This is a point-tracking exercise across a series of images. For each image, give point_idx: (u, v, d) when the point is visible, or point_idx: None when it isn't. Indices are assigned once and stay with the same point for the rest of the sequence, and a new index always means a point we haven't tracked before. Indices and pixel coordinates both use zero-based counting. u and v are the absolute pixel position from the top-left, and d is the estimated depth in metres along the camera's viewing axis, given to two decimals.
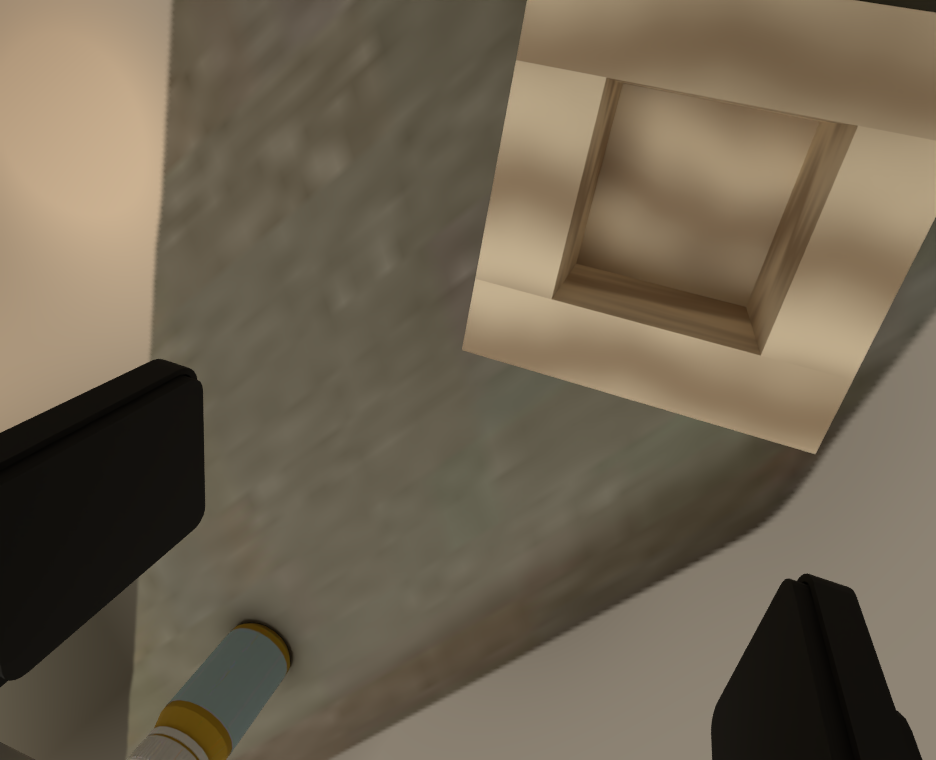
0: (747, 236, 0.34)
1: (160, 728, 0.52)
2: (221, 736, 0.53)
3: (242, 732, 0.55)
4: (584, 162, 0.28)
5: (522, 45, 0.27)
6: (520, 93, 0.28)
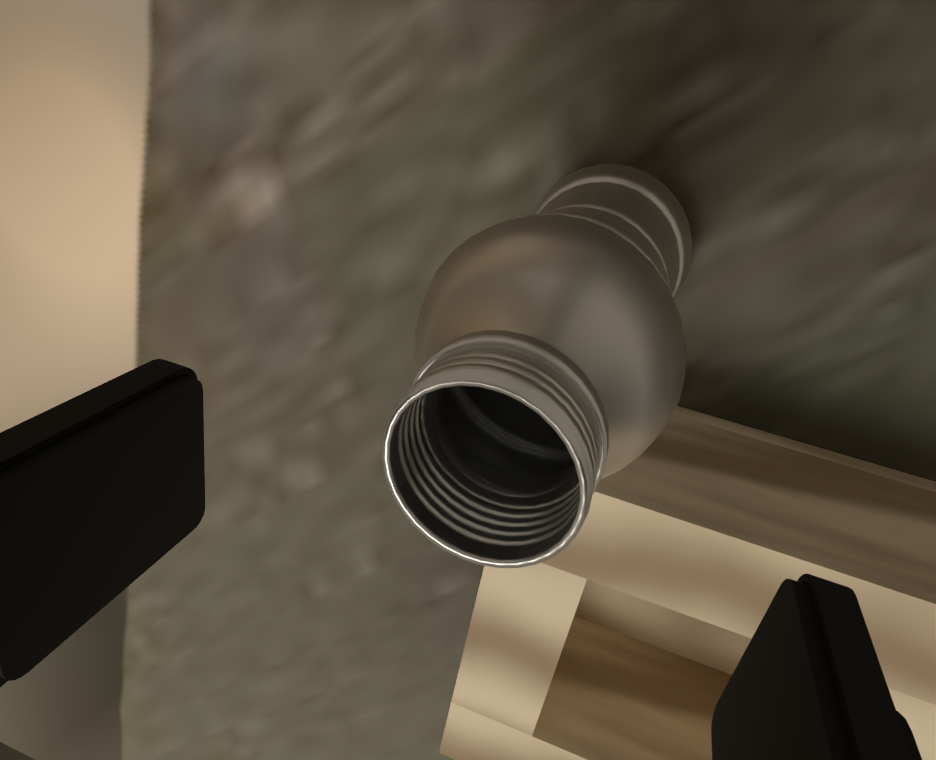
0: None
1: None
2: None
3: None
4: (564, 639, 0.26)
5: None
6: (494, 571, 0.26)
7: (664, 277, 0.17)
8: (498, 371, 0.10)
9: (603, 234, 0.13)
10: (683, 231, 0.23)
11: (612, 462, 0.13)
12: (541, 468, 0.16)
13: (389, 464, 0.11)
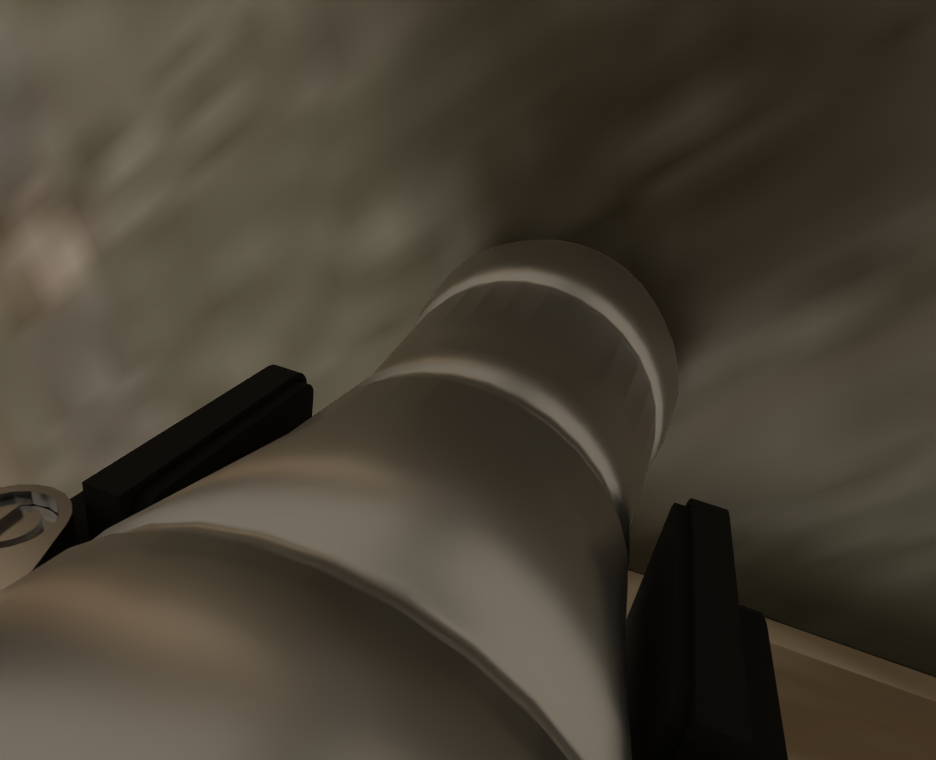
0: None
1: None
2: None
3: None
4: None
5: None
6: None
7: (608, 569, 0.07)
8: None
9: (322, 712, 0.03)
10: (662, 364, 0.13)
11: None
12: None
13: None
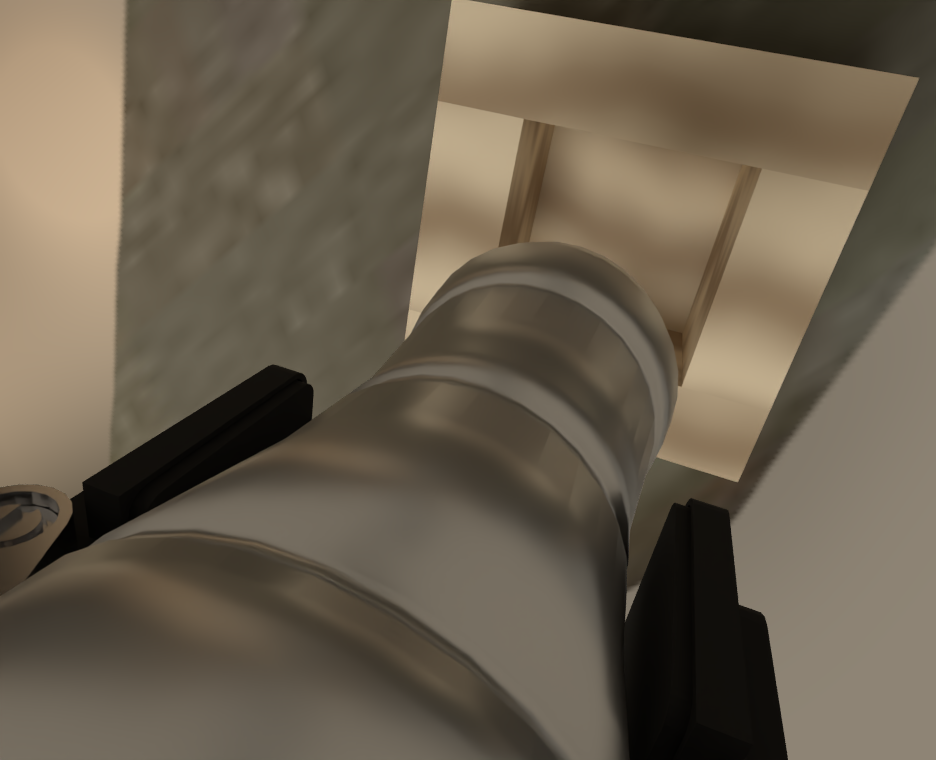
0: (681, 265, 0.35)
1: None
2: None
3: None
4: (506, 199, 0.29)
5: (443, 86, 0.28)
6: (443, 132, 0.28)
7: (606, 574, 0.07)
8: None
9: (318, 722, 0.03)
10: (662, 366, 0.13)
11: None
12: None
13: None
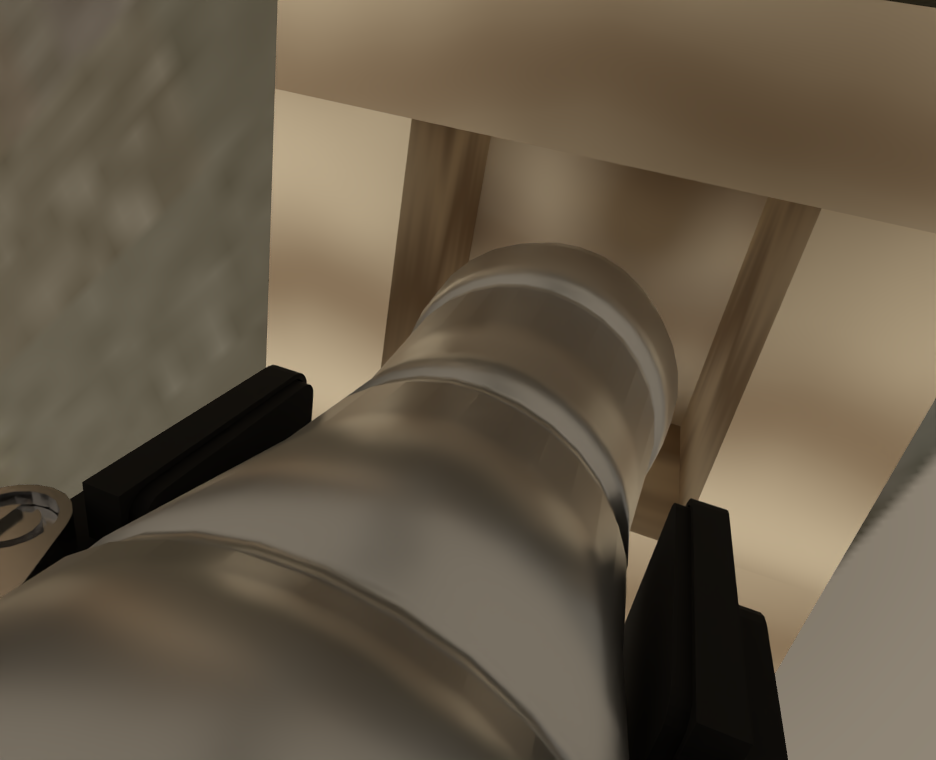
0: (678, 332, 0.24)
1: None
2: None
3: None
4: (394, 250, 0.18)
5: (280, 65, 0.17)
6: (288, 141, 0.17)
7: (606, 576, 0.07)
8: None
9: (318, 724, 0.03)
10: (661, 367, 0.13)
11: None
12: None
13: None
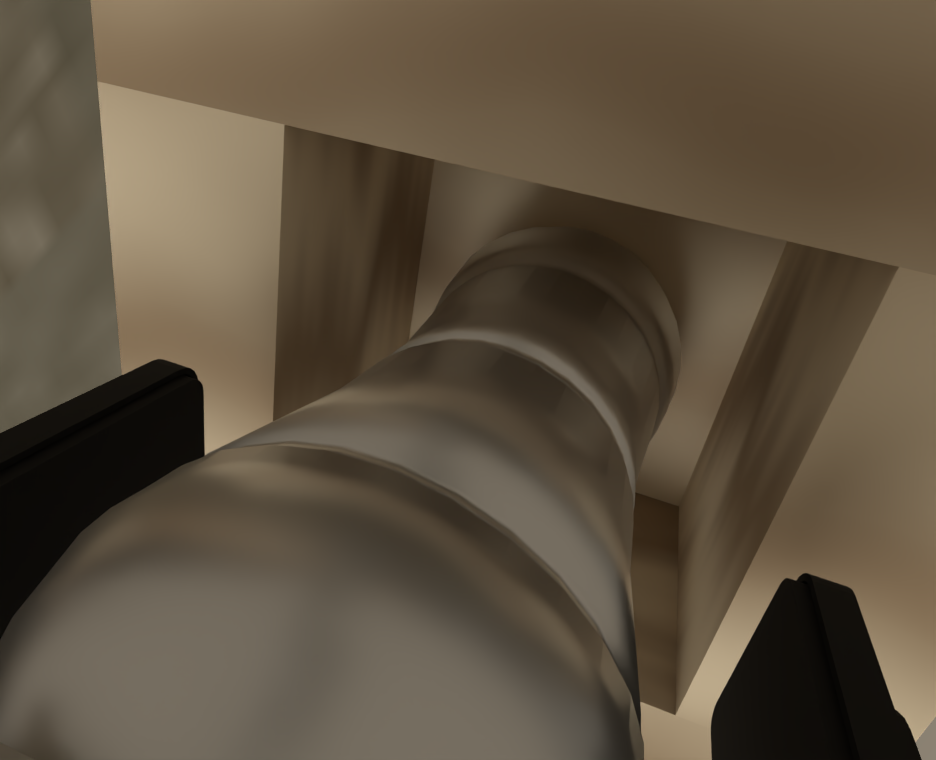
0: (676, 393, 0.19)
1: None
2: None
3: None
4: (276, 308, 0.13)
5: (100, 47, 0.11)
6: (123, 156, 0.12)
7: (616, 502, 0.08)
8: None
9: (406, 557, 0.05)
10: (665, 339, 0.14)
11: None
12: None
13: None
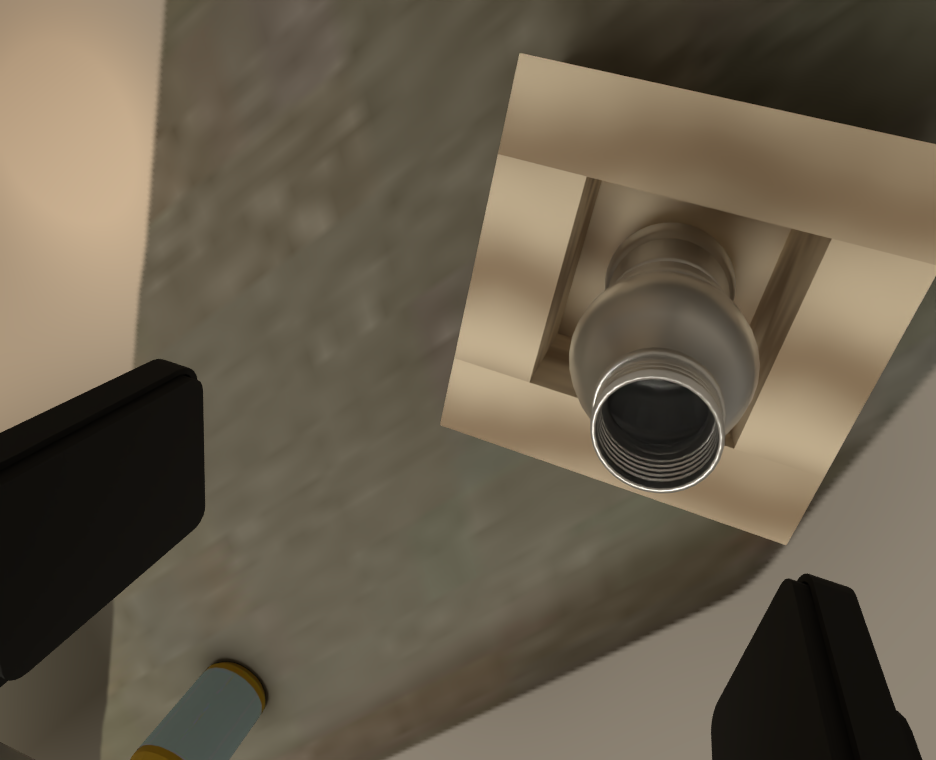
0: None
1: None
2: None
3: None
4: (563, 255, 0.28)
5: (504, 140, 0.27)
6: (501, 185, 0.28)
7: None
8: (672, 371, 0.17)
9: (709, 287, 0.20)
10: (732, 276, 0.30)
11: None
12: None
13: (594, 427, 0.18)
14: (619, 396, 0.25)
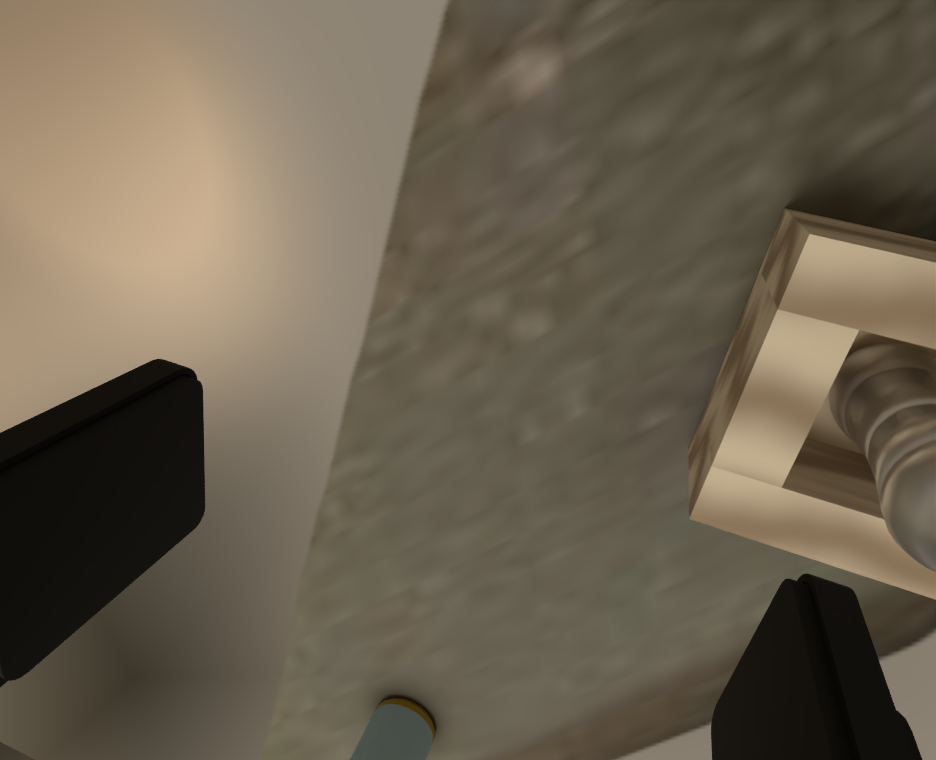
0: None
1: None
2: None
3: None
4: (828, 389, 0.33)
5: (785, 299, 0.32)
6: (777, 333, 0.33)
7: None
8: None
9: None
10: None
11: None
12: None
13: None
14: None
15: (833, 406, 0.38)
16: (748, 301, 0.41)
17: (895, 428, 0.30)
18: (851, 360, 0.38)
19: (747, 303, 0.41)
